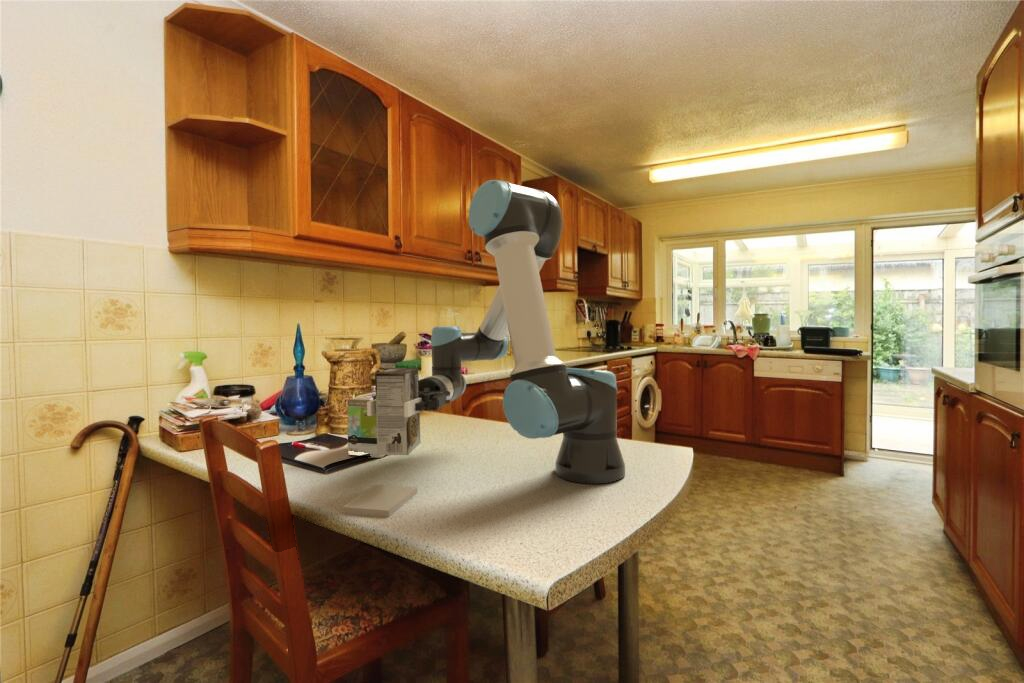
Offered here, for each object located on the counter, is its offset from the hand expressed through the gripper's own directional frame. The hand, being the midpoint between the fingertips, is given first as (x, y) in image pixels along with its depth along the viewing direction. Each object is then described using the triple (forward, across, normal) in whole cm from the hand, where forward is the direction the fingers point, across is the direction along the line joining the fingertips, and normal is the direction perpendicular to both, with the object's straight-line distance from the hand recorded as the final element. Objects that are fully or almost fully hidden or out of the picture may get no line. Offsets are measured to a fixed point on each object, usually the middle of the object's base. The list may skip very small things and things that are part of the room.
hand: (387, 409), depth 93 cm
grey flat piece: (-3, 0, -17) cm, 17 cm away
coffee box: (-5, 0, -9) cm, 10 cm away
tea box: (-32, +19, -17) cm, 41 cm away
